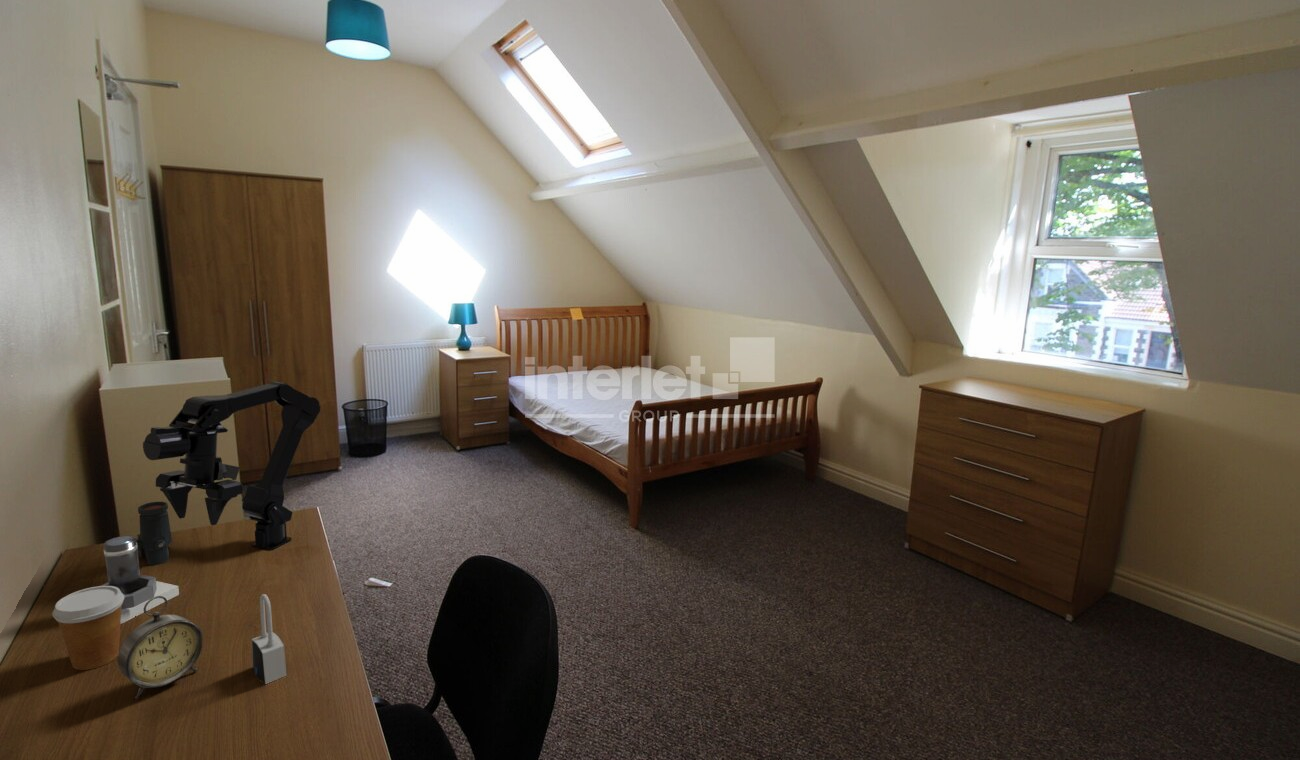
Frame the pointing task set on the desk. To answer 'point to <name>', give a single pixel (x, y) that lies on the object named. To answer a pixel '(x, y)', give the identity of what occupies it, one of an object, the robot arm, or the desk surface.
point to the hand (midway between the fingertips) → (197, 521)
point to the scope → (154, 533)
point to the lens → (123, 564)
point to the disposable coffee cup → (90, 625)
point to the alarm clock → (160, 650)
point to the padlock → (268, 649)
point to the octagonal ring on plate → (146, 597)
